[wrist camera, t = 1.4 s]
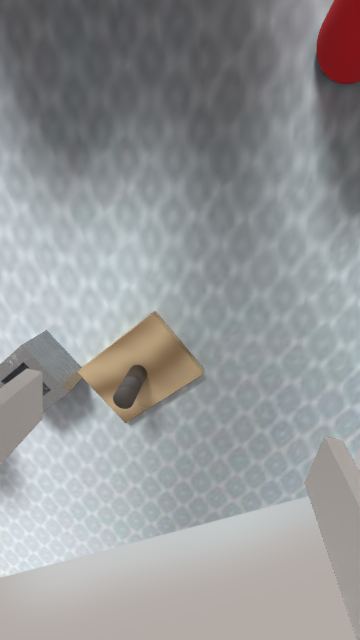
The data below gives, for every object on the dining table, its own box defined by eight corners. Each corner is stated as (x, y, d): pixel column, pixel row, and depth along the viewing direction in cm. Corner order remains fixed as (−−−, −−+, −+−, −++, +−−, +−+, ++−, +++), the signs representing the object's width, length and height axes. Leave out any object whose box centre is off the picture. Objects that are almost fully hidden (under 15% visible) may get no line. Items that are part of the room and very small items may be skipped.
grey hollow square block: (12, 360, 40) (-16, 378, 35) (46, 330, 38) (21, 345, 33) (50, 399, 41) (29, 421, 37) (86, 372, 39) (68, 393, 34)
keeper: (81, 367, 39) (52, 397, 32) (155, 310, 35) (139, 331, 28) (128, 417, 41) (109, 455, 34) (203, 369, 36) (200, 402, 30)
